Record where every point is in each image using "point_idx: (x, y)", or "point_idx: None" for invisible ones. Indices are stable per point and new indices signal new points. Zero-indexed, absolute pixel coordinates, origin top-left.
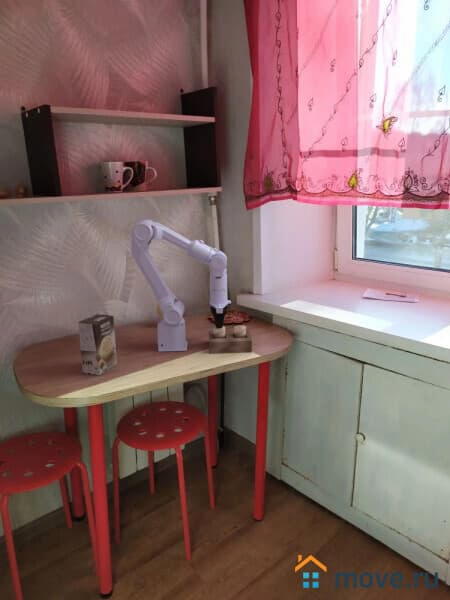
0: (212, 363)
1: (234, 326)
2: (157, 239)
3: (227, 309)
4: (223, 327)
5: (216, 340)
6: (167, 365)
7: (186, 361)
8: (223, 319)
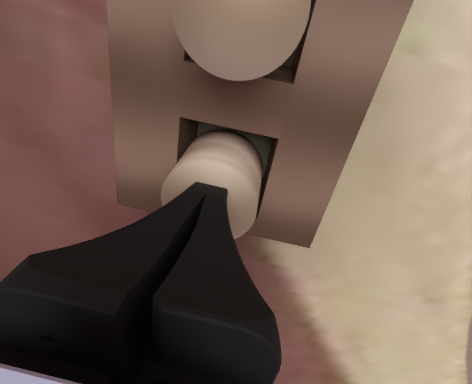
0: (432, 224)
1: (203, 67)
2: None
3: (234, 325)
4: (212, 175)
5: (297, 207)
6: (355, 344)
7: (350, 297)
8: (231, 238)
